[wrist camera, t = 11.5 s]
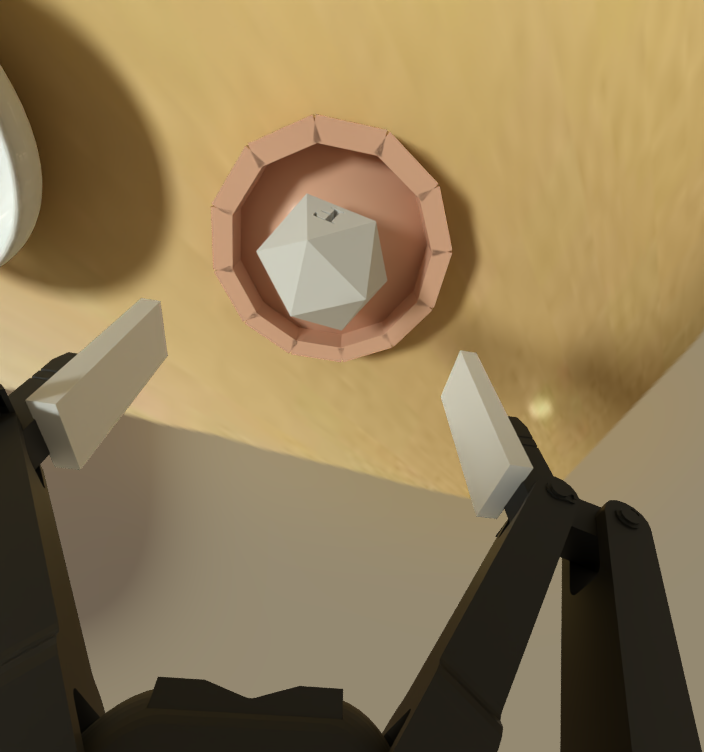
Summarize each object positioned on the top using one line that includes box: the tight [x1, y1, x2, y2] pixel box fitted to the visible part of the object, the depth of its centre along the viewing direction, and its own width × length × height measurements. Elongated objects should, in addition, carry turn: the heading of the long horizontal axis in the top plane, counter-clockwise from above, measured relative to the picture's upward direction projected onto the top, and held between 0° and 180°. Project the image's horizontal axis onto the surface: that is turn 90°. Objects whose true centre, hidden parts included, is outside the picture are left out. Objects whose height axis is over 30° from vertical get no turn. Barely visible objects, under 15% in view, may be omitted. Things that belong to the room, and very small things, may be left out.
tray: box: [211, 114, 452, 362], centre depth 30 cm, size 18×18×4 cm
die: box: [256, 194, 387, 331], centre depth 27 cm, size 8×9×10 cm
